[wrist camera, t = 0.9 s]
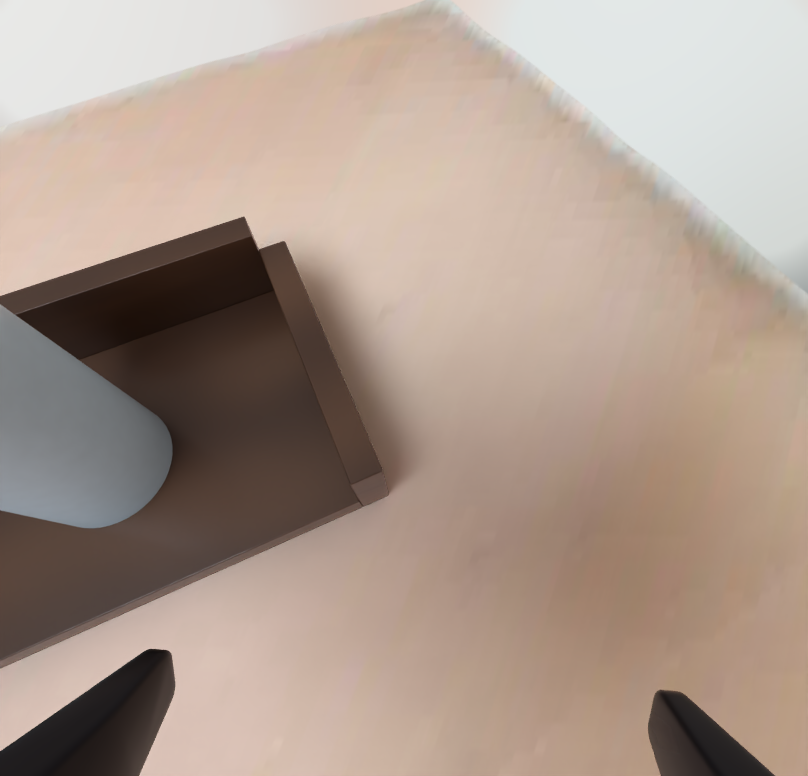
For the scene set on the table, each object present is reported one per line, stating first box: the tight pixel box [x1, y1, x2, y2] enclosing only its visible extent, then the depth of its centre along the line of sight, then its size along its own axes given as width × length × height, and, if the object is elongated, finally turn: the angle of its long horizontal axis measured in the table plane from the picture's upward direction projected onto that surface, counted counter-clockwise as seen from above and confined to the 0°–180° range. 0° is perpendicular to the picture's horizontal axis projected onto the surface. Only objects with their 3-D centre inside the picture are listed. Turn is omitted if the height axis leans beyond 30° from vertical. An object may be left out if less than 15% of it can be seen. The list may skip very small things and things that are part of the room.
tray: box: [0, 217, 389, 668], centre depth 22 cm, size 16×25×6 cm, turn 114°
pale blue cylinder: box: [0, 305, 173, 528], centre depth 18 cm, size 8×6×11 cm
